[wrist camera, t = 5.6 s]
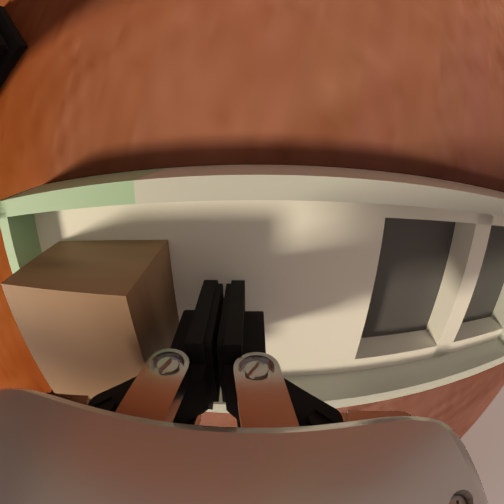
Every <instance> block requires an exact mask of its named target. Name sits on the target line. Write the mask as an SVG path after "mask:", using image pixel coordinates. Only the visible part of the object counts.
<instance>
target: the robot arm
mask: <svg viewBox="0 0 504 504" xmlns="http://www.w3.org/2000/svg"><path fill="white" fill-rule="evenodd" d="M220 387H221V392H222V401H223V402H226V410H227V411H228V412H229V413H230V414H231V415H233V416H234V417H235V418H236V419H237V427H238V428H236V427H215V426H201V425H199V424H200V421H201V414H202V413H204V412H205V411H207V410H208V409H211V410H213V403H214V402H219V396H220ZM0 504H488V501H487V498H486V495H485V492H484V489H483V486H482V483H481V480H480V478H479V475H478V473H477V471H476V469H475V466H474V464H473V462H472V460H471V457H470V455H469V453H468V451H467V450H466V448H465V446H464V444H463V443H462V441H461V440H460V438H459V437H458V435H457V434H456V433H455V431H454V430H453V429H452V428H451V427H450V426H448V425H447V424H446V423H444V422H442V421H439V420H436V419H432V418H427V417H416V416H411V415H410V414H408V413H406V412H402V411H354V410H348V412H347V413H340V412H339V411H338V410H336V409H335V408H334V407H332V406H330V405H329V404H327V403H325V402H323V401H322V400H320V399H318V398H316V397H315V396H313V395H311V394H310V393H308V392H306V391H305V390H303V389H301V388H300V387H298V386H296V385H295V384H293V383H292V382H290V381H288V380H287V379H285V378H284V377H283V374H282V371H281V368H280V365H279V363H278V361H277V360H276V359H275V358H274V357H273V356H271V355H269V354H267V353H266V346H265V328H264V312H263V311H245V280H232V281H231V284H226V289H225V295H224V294H223V284H220V283H218V280H204V282H203V285H202V288H201V291H200V294H199V298H198V301H197V304H196V307H195V310H184V311H183V314H182V316H181V319H180V322H179V325H178V327H177V330H176V333H175V336H174V339H173V342H172V344H171V347H170V349H162V350H159V351H156V352H155V353H153V354H152V355H151V356H150V357H149V358H148V359H147V361H146V362H145V364H144V366H143V367H142V369H141V370H140V372H139V374H138V375H137V376H136V377H134V378H132V379H130V380H128V381H126V382H123V383H121V384H119V385H117V386H115V387H112V388H110V389H108V390H106V391H104V392H101V393H99V394H97V395H96V396H94V397H93V398H92V399H90V397H89V396H87V395H69V394H57V393H43V392H39V391H35V390H30V389H22V388H5V389H1V390H0Z"/></svg>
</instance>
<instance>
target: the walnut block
mask: <svg viewBox="0 0 504 504" xmlns="http://www.w3.org/2000/svg"><path fill="white" fill-rule="evenodd" d="M1 285H2V288H3V291H4V293H5V296H6V299H7V301H8V304H9V307H10V309H11V311H12V314H13V316H14V319H15V321H16V323H17V325H18V328H19V330H20V332H21V334H22V336H23V338H24V340H25V342H26V344H27V346H28V348H29V350H30V352H31V354H32V356H33V358H34V360H35V362H36V363H37V365H38V367H39V369H40V370H41V372H42V374H43V375H44V377H45V379H46V380H47V382H48V384H49V385H50V387H51V388H52V390H53V392H54V393H57V394H69V395H87V396H89V397H90V399H92V398H93V397H94V396H96V395H97V394H99V393H101V392H104V391H106V390H108V389H110V388H112V387H115V386H117V385H119V384H121V383H123V382H126V381H128V380H130V379H132V378H134V377H136V376H137V375H138V374H139V372H140V370H141V369H142V367H143V366H144V364H145V362H146V361H147V359H148V358H149V357H150V356H151V355H152V354H153V353H155V352H156V351H159V350H162V349H170V347H171V344H172V342H173V339H174V336H175V333H176V330H177V327H178V325H179V316H178V310H177V304H176V297H175V291H174V284H173V276H172V269H171V261H170V252H169V243H168V240H95V241H59V242H57V243H56V244H54V245H53V246H51V247H50V248H48V249H47V250H45V251H44V252H43V253H41V254H40V255H38V256H37V257H35V258H34V259H33V260H31V261H30V262H28V263H27V264H26V265H24V266H23V267H22V268H20V269H19V270H18V271H16V272H15V273H14V274H12V275H11V276H10V277H9V278H7V279H6V280H5V281H4V282H2V283H1Z"/></svg>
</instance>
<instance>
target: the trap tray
mask: <svg viewBox="0 0 504 504" xmlns="http://www.w3.org/2000/svg"><path fill="white" fill-rule="evenodd" d="M0 227H1V232H2V236H3V241H4V245H5V249H6V252H7V256H8V260H9V263H10V267H11V270H12V273H13V274H14V273H15V272H16V271H18V270H19V269H20V268H22V267H23V266H24V265H26V264H27V263H28V262H30V261H31V260H33V259H34V258H35V257H37V256H38V255H40V254H41V253H43V252H44V251H45V250H47V249H48V248H50V247H51V246H53V245H54V244H56V243H57V242H59V241H95V240H168V243H169V252H170V261H171V269H172V276H173V284H174V291H175V297H176V304H177V310H178V316H179V322H180V319H181V316H182V314H183V311H184V310H195V307H196V304H197V301H198V298H199V294H200V291H201V288H202V285H203V282H204V280H218V283H220V284H223V294H224V295H225V289H226V284H231V281H232V280H245V311H263V312H264V328H265V346H266V353H267V354H269V355H271V356H273V357H274V358H275V359H276V360H277V361H278V363H279V365H280V368H281V371H282V374H283V377H284V378H285V379H287V380H288V381H290V382H292V383H293V384H295V385H296V386H298V387H300V388H301V389H303V390H305V391H306V392H308V393H310V394H311V395H313V396H315V397H316V398H318V399H320V400H322V401H323V402H325V403H327V404H329V405H330V406H332V407H334V408H340V407H348V406H354V405H361V404H367V403H372V402H378V401H383V400H388V399H392V398H397V397H401V396H406V395H410V394H414V393H418V392H421V391H425V390H429V389H432V388H435V387H439V386H442V385H445V384H448V383H452V382H455V381H457V380H460V379H463V378H466V377H469V376H472V375H474V374H477V373H479V372H482V371H484V370H487V369H489V368H492V367H494V366H496V365H499V364H501V363H503V362H504V192H500V191H496V190H492V189H488V188H483V187H478V186H474V185H469V184H464V183H459V182H453V181H448V180H442V179H436V178H430V177H423V176H416V175H409V174H401V173H393V172H384V171H375V170H365V169H353V168H340V167H324V166H303V165H209V166H188V167H173V168H159V169H148V170H138V171H128V172H119V173H111V174H103V175H96V176H89V177H83V178H76V179H70V180H64V181H59V182H53V183H48V184H43V185H40V186H37V187H34V188H31V189H29V190H26V191H23V192H20V193H18V194H15V195H12V196H10V197H7V198H5V199H2V200H0ZM205 412H221V413H229V412H228V411H227V410H226V402H223V401H222V392H221V387H220V396H219V402H214V403H213V410H211V409H208V410H207V411H205Z"/></svg>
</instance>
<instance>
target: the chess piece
mask: <svg viewBox="0 0 504 504" xmlns="http://www.w3.org/2000/svg"><path fill="white" fill-rule="evenodd" d="M27 47H28V46H27V45H26V43H25V42H24V40H23V39H22V37H21V35H20V34H19V32H18V31H17V29H16V27H15V26H14V24H13V22H12V21H11V19H10V17H9V16H8V14H7V12H6V10H5V9H4V7H2V6H0V88H1V86H2V84H3V83H4V81H5V79H6V78H7V76H8V75H9V73H10V71H11V70H12V68H13V67H14V65H15V64H16V62H17V61H18V59H19V58H20V57H21V55H22V54H23V52H24V51H25V50H26V48H27Z"/></svg>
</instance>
